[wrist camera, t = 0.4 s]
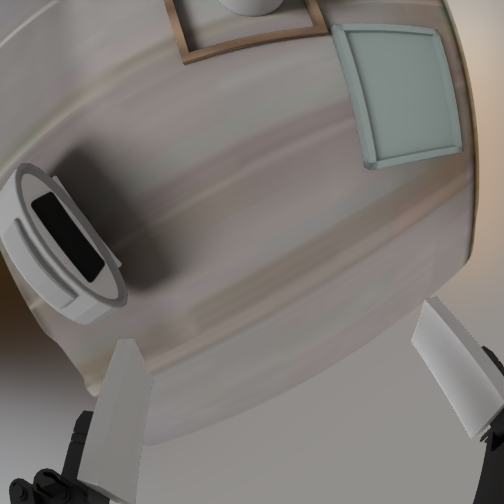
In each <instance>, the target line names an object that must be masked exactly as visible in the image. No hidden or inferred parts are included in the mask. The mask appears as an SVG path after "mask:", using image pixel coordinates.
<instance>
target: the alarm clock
mask: <svg viewBox="0 0 504 504" xmlns="http://www.w3.org/2000/svg"><path fill="white" fill-rule="evenodd" d="M0 236H1V239H2V242H3V244H4V246H5V248H6V250H7V252H8V254H9V256H10V258H11V260H12V261H13V263H14V264H15V266H16V267H17V269H18V270H19V272H20V273H21V274H22V276H23V277H24V279H25V280H26V281H27V282H28V283H29V285H30V286H31V287H32V288H33V289H34V290H35V291H36V292H37V293H38V295H39V296H40V297H41V298H42V299H44V300H45V301H46V302H47V303H48V304H49V305H51V306H52V307H53V308H54V309H55V310H57V311H58V312H59V313H61V314H63V315H64V316H66V317H67V318H69V319H71V320H72V321H75V322H78V323H80V324H83V325H96V324H97V323H99V322H101V321H102V320H104V319H105V318H107V317H108V316H110V315H111V314H113V313H114V312H116V311H118V310H119V309H121V308H122V307H123V306H124V305H126V304H127V298H128V293H127V289H126V285H125V282H124V280H123V277H122V275H121V273H120V270H119V267H120V266H121V265H122V264H121V263H120V261H119V260H118V259H117V258H116V257H115V255H114V254H113V253H112V252H111V250H110V249H109V248H108V247H107V245H106V244H105V243H104V241H103V240H102V239H101V238H100V236H99V235H98V234H97V232H96V231H95V229H94V228H93V227H92V225H91V224H90V222H89V221H88V219H87V218H86V217H85V216H84V214H83V213H82V212H81V210H80V209H79V208H78V207H77V205H76V204H75V203H74V201H73V200H72V198H71V197H70V195H69V194H68V192H67V191H66V190H65V188H64V187H63V185H62V184H61V182H60V181H59V179H58V177H57V176H54V177H53V178H51V177H50V176H49V175H48V174H46V173H45V172H44V171H42V170H41V169H40V168H38V167H36V166H34V165H32V164H30V163H22V164H21V165H20V166H18V167H17V168H16V169H15V171H14V172H13V174H12V175H11V177H10V178H9V180H8V181H7V183H6V184H5V186H4V187H3V189H2V190H1V192H0Z"/></svg>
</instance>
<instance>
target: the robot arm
mask: <svg viewBox="0 0 504 504" xmlns="http://www.w3.org/2000/svg"><path fill="white" fill-rule="evenodd" d="M411 342H412V344H413V345H414V347H415V348H416V349H417V351H418V352H419V354H420V355H421V357H422V358H423V360H424V361H425V363H426V365H427V366H428V368H429V369H430V371H431V372H432V374H433V375H434V377H435V378H436V380H437V381H438V383H439V385H440V387H441V388H442V390H443V391H444V393H445V395H446V396H447V398H448V400H449V401H450V403H451V405H452V406H453V408H454V410H455V412H456V413H457V415H458V417H459V419H460V420H461V422H462V424H463V426H464V428H465V429H466V431H467V433H468V435H469V437H470V439H471V438H473V437H475V436H476V435H478V434H480V433H481V432H482V431H483V430H484V429H485V428H486V427H487V426H488V425H489V424H490V426H491V428H490V429H489V430H488V431H487V432H486V433H485V434H484V435H483V436H482V437H481V440H480V442H482V441H483V440H484V439H485V438H486V437H487V436H488V438H487V439H486V440H485V441H484V442H485V443H487V446H486V452H485V457H484V462H483V467H482V472H481V476H480V480H479V484H478V488H477V492H476V495H475V499H474V502H473V504H504V367H503V365H502V363H501V362H500V361H498V358H497V357H496V356H495V355H494V353H493V352H492V351H490V350H489V349H488V348H486V347H485V346H483V347H480V345H479V344H478V343H477V342H476V341H475V339H474V338H473V337H472V336H471V335H470V333H469V332H468V331H467V330H466V329H465V328H464V326H463V325H462V324H461V323H460V322H459V321H458V320H457V319H456V317H455V316H454V315H453V314H452V313H451V312H450V311H449V310H448V308H447V307H446V306H445V305H444V304H443V303H442V302H441V301H440V300H439V299H438V298H437V297H432V298H428V299H425V301H424V304H423V307H422V311H421V314H420V317H419V320H418V323H417V326H416V329H415V332H414V335H413V337H412V340H411ZM152 384H153V378H152V376H151V374H150V372H149V370H148V368H147V366H146V364H145V361H144V359H143V357H142V355H141V353H140V351H139V349H138V346H137V344H136V342H135V340H134V339H118V342H117V345H116V347H115V350H114V353H113V356H112V358H111V361H110V364H109V367H108V370H107V373H106V375H105V378H104V381H103V384H102V388H101V391H100V394H99V397H98V400H97V404H96V407H95V410H94V412H92V411H83V413H82V414H81V415H80V416H79V418H78V419H77V421H76V424H75V427H74V433H73V434H72V437H71V442H70V444H69V448H68V451H67V455H66V459H65V463H64V467H63V471H62V474H61V475H60V474H58V473H57V472H55V471H54V470H52V469H48V468H46V469H42V470H40V471H39V472H37V474H36V475H35V477H34V482H33V484H30V483H28V482H27V481H25V480H24V479H20V478H18V479H15V480H14V481H12V483H11V485H10V487H9V494H10V501H11V504H109V501H110V499H111V500H113V501H115V502H116V503H121V504H135V502H136V491H137V482H138V473H139V464H140V457H141V450H142V443H143V436H144V429H145V423H146V417H147V411H148V405H149V400H150V394H151V389H152Z"/></svg>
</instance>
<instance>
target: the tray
mask: <svg viewBox="0 0 504 504" xmlns="http://www.w3.org/2000/svg"><path fill="white" fill-rule="evenodd" d="M329 29H330V32H331V35H332V38H333V41H334V44H335V47H336V50H337V53H338V56H339V59H340V63H341V66H342V69H343V73H344V76H345V80H346V83H347V87H348V91H349V95H350V99H351V103H352V107H353V111H354V115H355V120H356V124H357V129H358V133H359V138H360V143H361V149H362V154H363V160H364V165H365V168H367V169H369V170H375V169H380V168H384V167H389V166H393V165H398V164H402V163H407V162H412V161H417V160H422V159H427V158H432V157H437V156H442V155H447V154H453V153H458V152H463V151H462V140H461V131H460V124H459V117H458V110H457V104H456V99H455V93H454V89H453V84H452V79H451V75H450V71H449V67H448V63H447V59H446V56H445V52H444V49H443V45H442V42H441V39H440V36H439V33H438V30H437V29H431V28H423V27H415V26H405V25H392V24H334V25H333V26H332V27H330V28H329Z"/></svg>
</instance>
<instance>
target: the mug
mask: <svg viewBox="0 0 504 504" xmlns="http://www.w3.org/2000/svg"><path fill="white" fill-rule="evenodd" d="M219 1H220V2H221V4H222V5H223V6H224V7H225V8H227V9H228V10H230V11H231V12H233V13H236V14H239V15H243V16H261V15H265V14H268V13H270V12H272V11H274V10H275V9H277V8H278V7H279V6H280V5H281V3H282V2H283V0H219Z"/></svg>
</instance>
